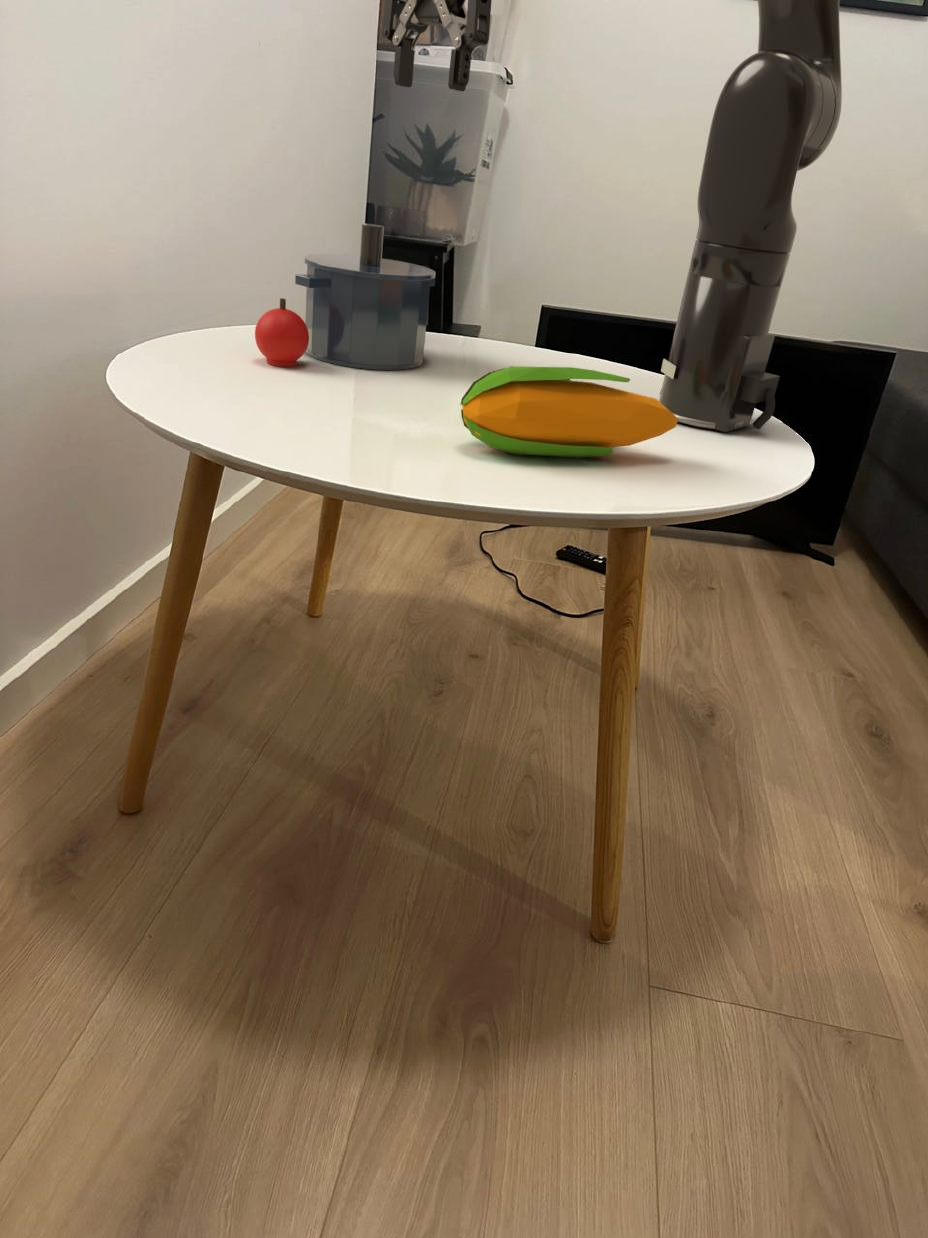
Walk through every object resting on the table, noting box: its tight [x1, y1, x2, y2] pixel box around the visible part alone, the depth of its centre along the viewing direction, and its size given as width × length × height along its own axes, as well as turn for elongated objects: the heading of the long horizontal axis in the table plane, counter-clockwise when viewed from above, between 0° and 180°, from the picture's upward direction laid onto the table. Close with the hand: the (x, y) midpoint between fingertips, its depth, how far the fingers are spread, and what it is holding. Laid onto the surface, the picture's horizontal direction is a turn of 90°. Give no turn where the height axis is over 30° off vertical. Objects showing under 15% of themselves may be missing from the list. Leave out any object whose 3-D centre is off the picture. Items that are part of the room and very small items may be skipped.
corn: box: [459, 365, 679, 458], centre depth 73 cm, size 7×8×20 cm
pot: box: [294, 264, 436, 371], centre depth 98 cm, size 14×19×10 cm
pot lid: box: [303, 223, 436, 281], centre depth 95 cm, size 15×15×5 cm
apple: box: [254, 297, 309, 368], centre depth 90 cm, size 6×6×7 cm
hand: (429, 88), depth 98 cm, fingers open, 8 cm apart
